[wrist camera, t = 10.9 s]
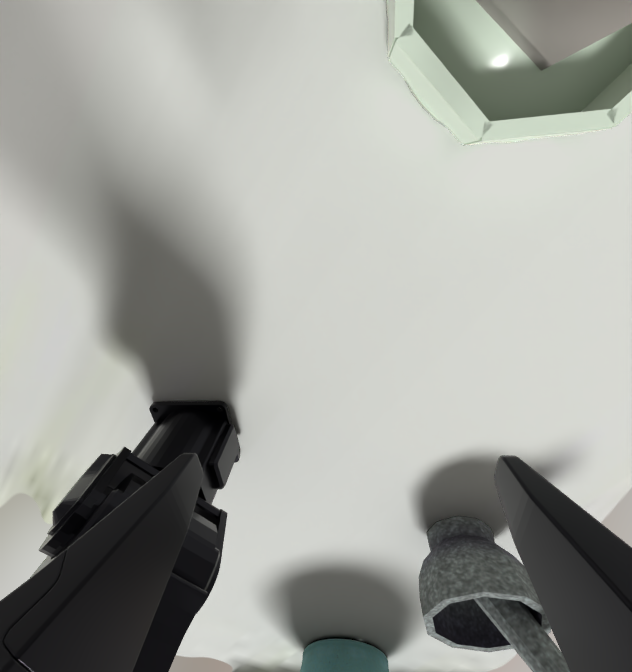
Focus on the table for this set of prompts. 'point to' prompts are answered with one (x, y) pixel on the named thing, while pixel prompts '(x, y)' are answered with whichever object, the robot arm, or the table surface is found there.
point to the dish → (504, 76)
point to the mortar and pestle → (483, 596)
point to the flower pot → (343, 657)
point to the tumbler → (557, 24)
